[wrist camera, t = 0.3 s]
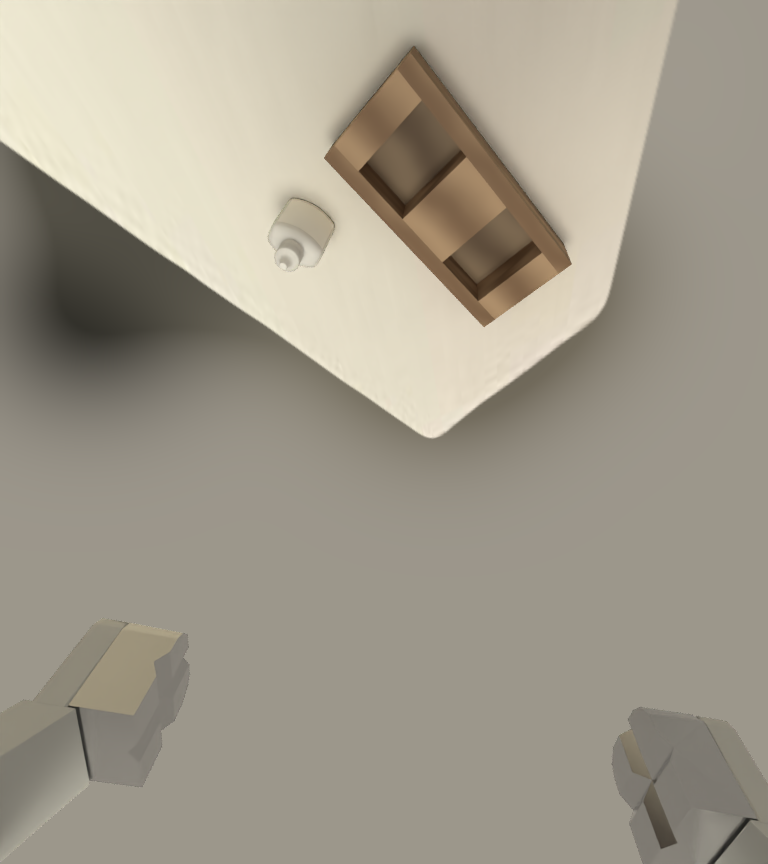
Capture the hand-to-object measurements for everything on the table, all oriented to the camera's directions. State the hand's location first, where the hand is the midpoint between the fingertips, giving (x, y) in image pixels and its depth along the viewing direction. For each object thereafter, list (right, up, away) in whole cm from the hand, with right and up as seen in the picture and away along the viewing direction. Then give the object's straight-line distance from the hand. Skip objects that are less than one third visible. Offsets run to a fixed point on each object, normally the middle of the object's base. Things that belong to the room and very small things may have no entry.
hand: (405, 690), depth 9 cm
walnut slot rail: (+7, +29, +42) cm, 52 cm away
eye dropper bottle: (-9, +29, +45) cm, 54 cm away
